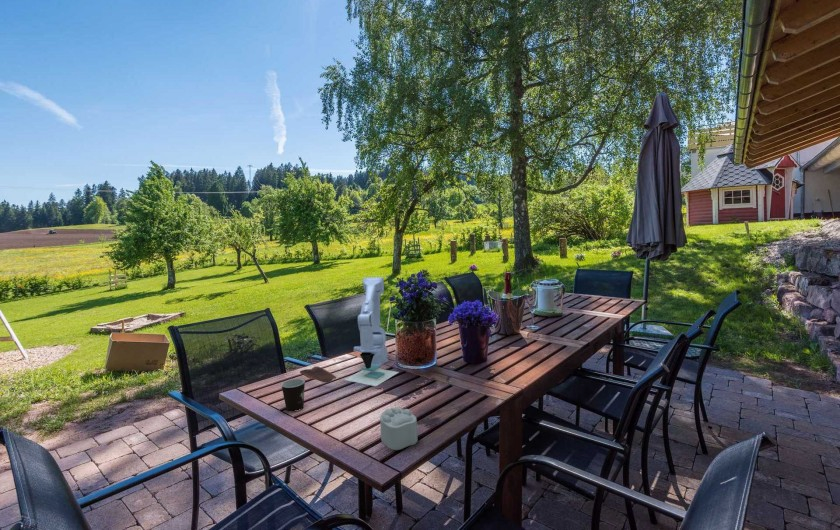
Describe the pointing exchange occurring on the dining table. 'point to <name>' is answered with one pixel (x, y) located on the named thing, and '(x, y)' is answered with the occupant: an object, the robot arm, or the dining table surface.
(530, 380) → the dining table surface
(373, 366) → the flat tile
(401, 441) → the lumpy-topped squat cylinder
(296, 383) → the coffee mug
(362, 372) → the felt mat
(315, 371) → the wooden tablet
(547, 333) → the dining table surface
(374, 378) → the tile
